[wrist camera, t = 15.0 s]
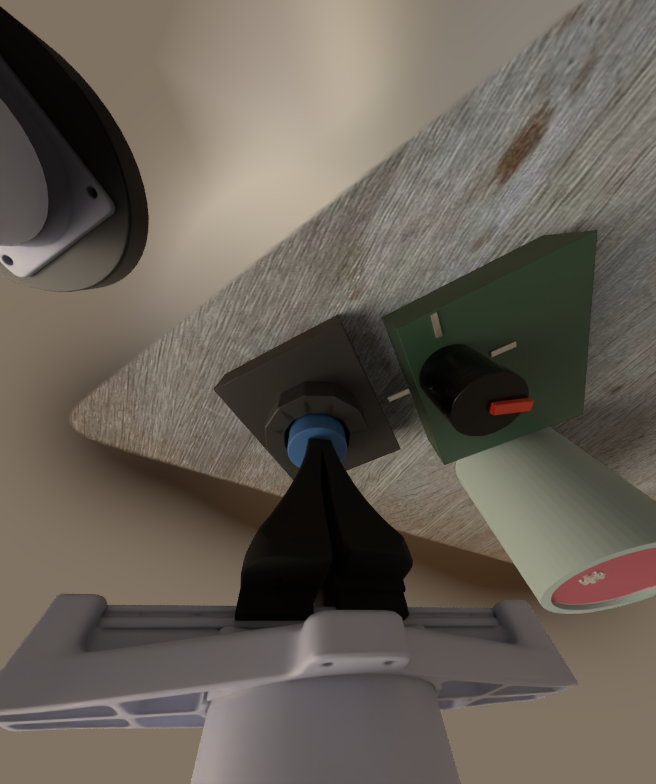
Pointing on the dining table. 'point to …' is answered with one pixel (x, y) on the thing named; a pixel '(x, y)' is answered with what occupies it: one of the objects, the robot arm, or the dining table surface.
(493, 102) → the dining table surface
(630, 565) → the mug
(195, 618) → the robot arm
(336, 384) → the button block
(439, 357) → the knob
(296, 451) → the plunger
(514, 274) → the panel
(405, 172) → the dining table surface
